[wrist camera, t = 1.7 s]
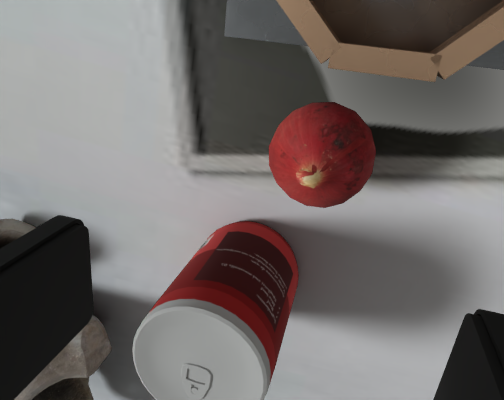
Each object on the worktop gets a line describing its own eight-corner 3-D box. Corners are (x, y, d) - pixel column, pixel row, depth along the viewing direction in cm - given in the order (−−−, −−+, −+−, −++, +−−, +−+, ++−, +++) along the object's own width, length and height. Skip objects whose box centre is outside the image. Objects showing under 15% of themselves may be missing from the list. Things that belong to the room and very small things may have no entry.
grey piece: (88, 280, 47) (149, 394, 40) (9, 326, 44) (59, 458, 37) (25, 192, 34) (98, 337, 27) (-94, 247, 31) (-47, 428, 24)
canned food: (212, 307, 34) (147, 420, 24) (195, 218, 31) (114, 303, 21) (305, 311, 32) (276, 437, 22) (295, 216, 29) (257, 309, 19)
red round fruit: (332, 73, 25) (317, 88, 18) (394, 143, 25) (404, 186, 18) (265, 136, 27) (228, 172, 20) (322, 199, 28) (307, 255, 21)
